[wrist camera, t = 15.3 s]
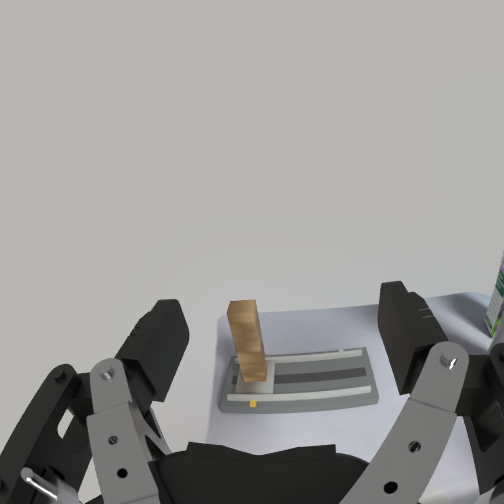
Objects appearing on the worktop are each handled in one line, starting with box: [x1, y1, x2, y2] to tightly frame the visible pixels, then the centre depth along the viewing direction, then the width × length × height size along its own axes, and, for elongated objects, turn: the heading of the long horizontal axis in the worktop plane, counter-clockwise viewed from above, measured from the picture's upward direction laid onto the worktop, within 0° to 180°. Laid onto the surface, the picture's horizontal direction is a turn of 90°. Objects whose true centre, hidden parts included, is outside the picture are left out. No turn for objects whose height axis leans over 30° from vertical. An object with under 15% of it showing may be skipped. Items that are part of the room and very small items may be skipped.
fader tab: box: [227, 300, 275, 394], centre depth 34 cm, size 5×6×13 cm
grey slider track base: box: [219, 347, 379, 414], centre depth 36 cm, size 21×10×2 cm, turn 84°
